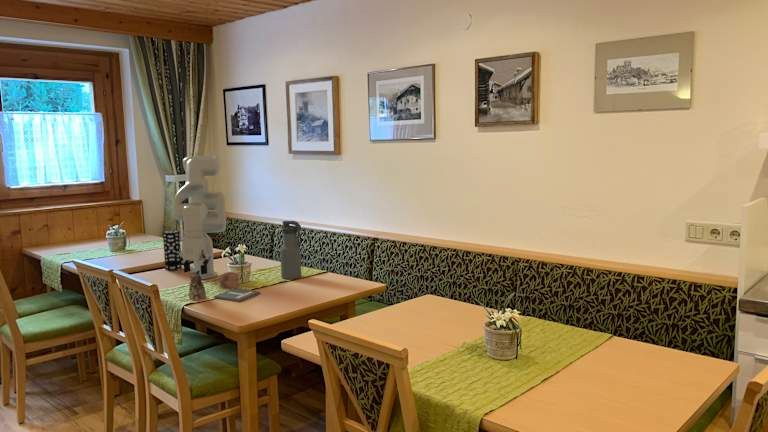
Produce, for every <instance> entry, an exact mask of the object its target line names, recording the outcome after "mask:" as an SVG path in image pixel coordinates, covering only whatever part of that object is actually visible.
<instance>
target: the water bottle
mask: <svg viewBox="0 0 768 432" xmlns="http://www.w3.org/2000/svg"><path fill="white" fill-rule="evenodd" d="M282 225H283V226H282V235H283V237H282V238H283V239H282V241H283V245H282V246H281V247H280V253H279V254H280V275H281V278H282V279H284V280H297V279H299V278H300V277H301V276H302V260H301V258H302V257H301V252H302V251H301V247H300V246H301V244H302V235H301V231H302V226H301V224H300V223H299V222H298V221H295V220H283V221H282Z"/></svg>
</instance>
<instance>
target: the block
mask: <svg viewBox="0 0 768 432" xmlns="http://www.w3.org/2000/svg"><path fill="white" fill-rule="evenodd" d="M219 285H220V287H219V288H224V289H230V290H231V289H234V288H237V287H239V286H240V278H239V272H233V271H227V272H223V273H221V274H219Z"/></svg>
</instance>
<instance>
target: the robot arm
mask: <svg viewBox="0 0 768 432" xmlns="http://www.w3.org/2000/svg"><path fill="white" fill-rule="evenodd" d="M182 165H183V166H182V167H183V169H184V172H185V179H184V181H185V184H184V185H183V186H182V187H181V188H180V189H179V190H178V191H177V192H176V194H175V196H174V199H173V211H172V212H173V217H174V219H175V220H177V221H180V222H181V221H183V237H182V241H181V252H179V255H180V259H181V261H182V264H183V273H189V272H192V273H193V272H197V271H198V270H199V271H200V272H199V275H200V276H201V280H208V279H209V280H210V279H212V278H213V279H214V278H216V277H217V276H218V272H217V271H215V266H214V263H215V261H214V246H213V239H212V238H211V237H210V236H209V235H208V234H209V233H210V234H211V233H223V232H225V230H226V229H227V215H226V213H227V212H226V199H225V195H224V193H223V192H222V191H218V190H216V191H215V190H213V191H211V190H210V189H209V188H210V187H209V186H210V185H209V180H208V179H207V178H206V177H210V176H211V177H213V176H215V177H216V176H217V175H219V173H220V172H221V166H222V165H221V159H220V157H219V156H217V155H192V156H191V155H190V156H186V157H184V158H183V160H182ZM188 198H190V199H191V201H190V202H191V203H189V202H188V203H187V202H184V201H185V200H186V199H188ZM182 202H183V203H182ZM209 211H210V212H209ZM212 211H215V212H216V213H215V212H212ZM211 212H212V213H211ZM191 261H192V262H193V266H191Z"/></svg>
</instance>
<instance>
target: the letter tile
mask: <svg viewBox="0 0 768 432" xmlns="http://www.w3.org/2000/svg"><path fill="white" fill-rule="evenodd" d="M260 294H261V291H258V290H253V289H252V290H251V289H246V288H244V289H243V288H237V287H233V288H231V289H230V290H226V291H224V292H221V293H219V294H216V295H214V296H213V298H214V299H217V300H224V301H231V302H237V303H240V302H243V301H246V300H248V299H250V298H253V297H255V296H257V295H260Z"/></svg>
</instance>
